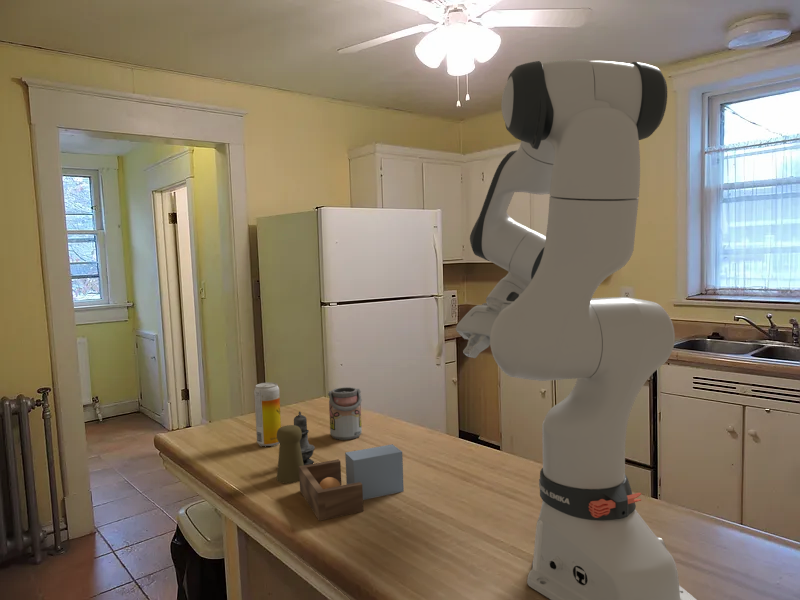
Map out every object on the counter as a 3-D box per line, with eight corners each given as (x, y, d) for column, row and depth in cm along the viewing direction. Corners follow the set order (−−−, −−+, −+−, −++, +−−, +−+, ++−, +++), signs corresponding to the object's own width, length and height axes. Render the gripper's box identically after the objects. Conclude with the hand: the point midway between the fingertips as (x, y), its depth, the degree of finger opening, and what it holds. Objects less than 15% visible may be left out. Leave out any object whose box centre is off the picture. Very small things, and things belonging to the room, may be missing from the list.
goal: (363, 511, 103) (362, 484, 103) (319, 520, 100) (317, 493, 99) (339, 483, 116) (338, 459, 116) (300, 490, 113) (298, 466, 113)
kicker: (403, 491, 111) (402, 451, 111) (355, 501, 107) (353, 460, 107) (393, 482, 116) (392, 444, 115) (346, 492, 112) (345, 452, 111)
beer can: (286, 441, 144) (284, 383, 143) (269, 449, 139) (266, 388, 138) (269, 438, 147) (266, 381, 146) (251, 445, 142) (248, 386, 141)
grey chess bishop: (303, 470, 124) (300, 416, 123) (283, 465, 127) (280, 413, 126) (320, 461, 129) (318, 409, 128) (301, 457, 132) (298, 406, 131)
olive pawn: (299, 483, 117) (297, 431, 116) (272, 482, 118) (269, 430, 117) (310, 472, 122) (307, 422, 122) (283, 471, 124) (281, 422, 123)
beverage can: (365, 440, 143) (363, 393, 142) (332, 443, 141) (330, 396, 140) (359, 429, 152) (358, 385, 151) (328, 432, 150) (326, 388, 149)
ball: (317, 491, 105) (328, 510, 106) (337, 477, 106) (348, 495, 107) (311, 482, 109) (322, 500, 110) (330, 469, 110) (341, 487, 111)
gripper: (472, 294, 128) (435, 340, 125) (527, 295, 109) (484, 350, 106) (490, 312, 130) (453, 359, 127) (546, 317, 111) (505, 372, 108)
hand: (468, 355), depth 116 cm, fingers closed
